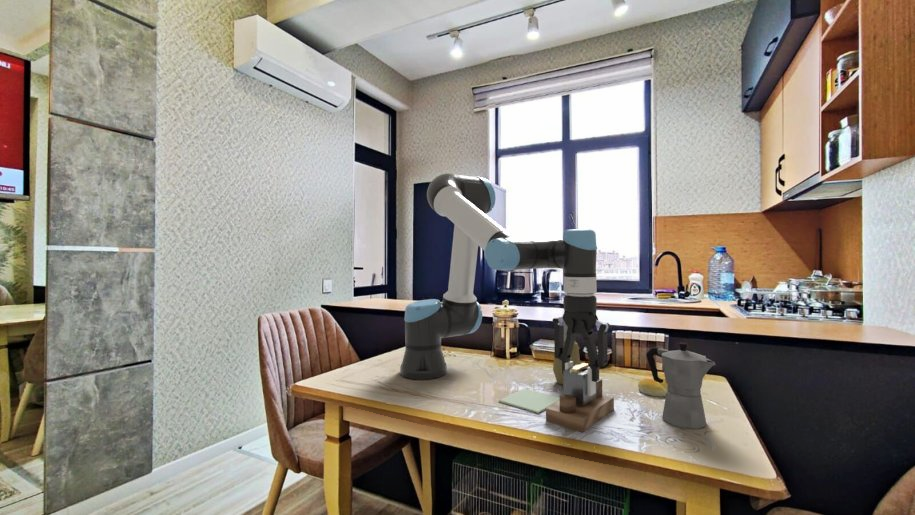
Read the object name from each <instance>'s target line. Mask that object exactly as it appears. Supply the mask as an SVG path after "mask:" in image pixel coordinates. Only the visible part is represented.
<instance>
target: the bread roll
mask: <svg viewBox="0 0 915 515" xmlns="http://www.w3.org/2000/svg"><path fill="white" fill-rule="evenodd" d="M658 377H659V378H660V379H663V382H662V383H659V382H656V381H655V380H654V379H653V377H652V378H649V377H645V378H643V379H641V380H640V381H639V382H638V384H637V388H638V390H639V392H641V393H642V394H644V395H648V396H652V397H666V392H667V383H666V380H665V377H663V376H658Z"/></svg>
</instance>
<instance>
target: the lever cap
mask: <svg viewBox="0 0 915 515" xmlns="http://www.w3.org/2000/svg"><path fill="white" fill-rule="evenodd" d="M589 365H590V363H585V362H582V363H580V365H578V364H577V365H575V366H573V367H571V368H568V369H566V370H564V371H563V384H562V385H563V386H562V387H563V395H572V396H575V397H576V404H580V405H585V404H587V403H588V402H590V401H591V400H593V399H594V398H596V397H597V382H596V393H595V394H593V395H592V396H588V373H587V368H588V367H589Z"/></svg>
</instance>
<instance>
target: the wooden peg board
mask: <svg viewBox="0 0 915 515" xmlns="http://www.w3.org/2000/svg"><path fill="white" fill-rule="evenodd" d="M559 397H560V401H558V402H556V403H554V404H552V405H551V406H549V407H547V408H546V410H545V422H548V423H552V424H554V425H556V426H560V427H563V428H567V429H571V430H574V431H577V432H580V433H584V432H585V431H586V430H588V429H589V428H591V427H592V426H594V425H595V424H596V423H598V422H599V421H600V420H602V419H603V418H604V417H605V416H607V415H608V414H610V413H611V412H612V411H614V410H615V397H614V396H610V395H605V394H603V379H602V378H599V380H598V381H597V397H596V398H594V399H593V400H591V401H590V402H588V403H587V404H585V405H580V404H576V397H575V396H572V395H564V394H561V395H559Z"/></svg>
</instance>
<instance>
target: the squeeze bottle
mask: <svg viewBox="0 0 915 515" xmlns="http://www.w3.org/2000/svg"><path fill="white" fill-rule="evenodd" d="M563 326H564V345H565V341H566V336H567V335H566V333H567V329H568V327H567V325H566V324H565V322H564V325H563ZM570 358H571V360H569V361H573V366H575V365H577V364H578V365H580V364H581V360H580V358H581V357H580V349H579V344H578V342H576V340H575V341H574V345H573V349H572V353H571V357H570ZM552 366H553V367H552V371H553V374H554V377H555V378H554V379H555V381H556V382H557V384H559V385H563V374H562V361H561V360H560V359H558V358H555V356H553V365H552Z"/></svg>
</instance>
